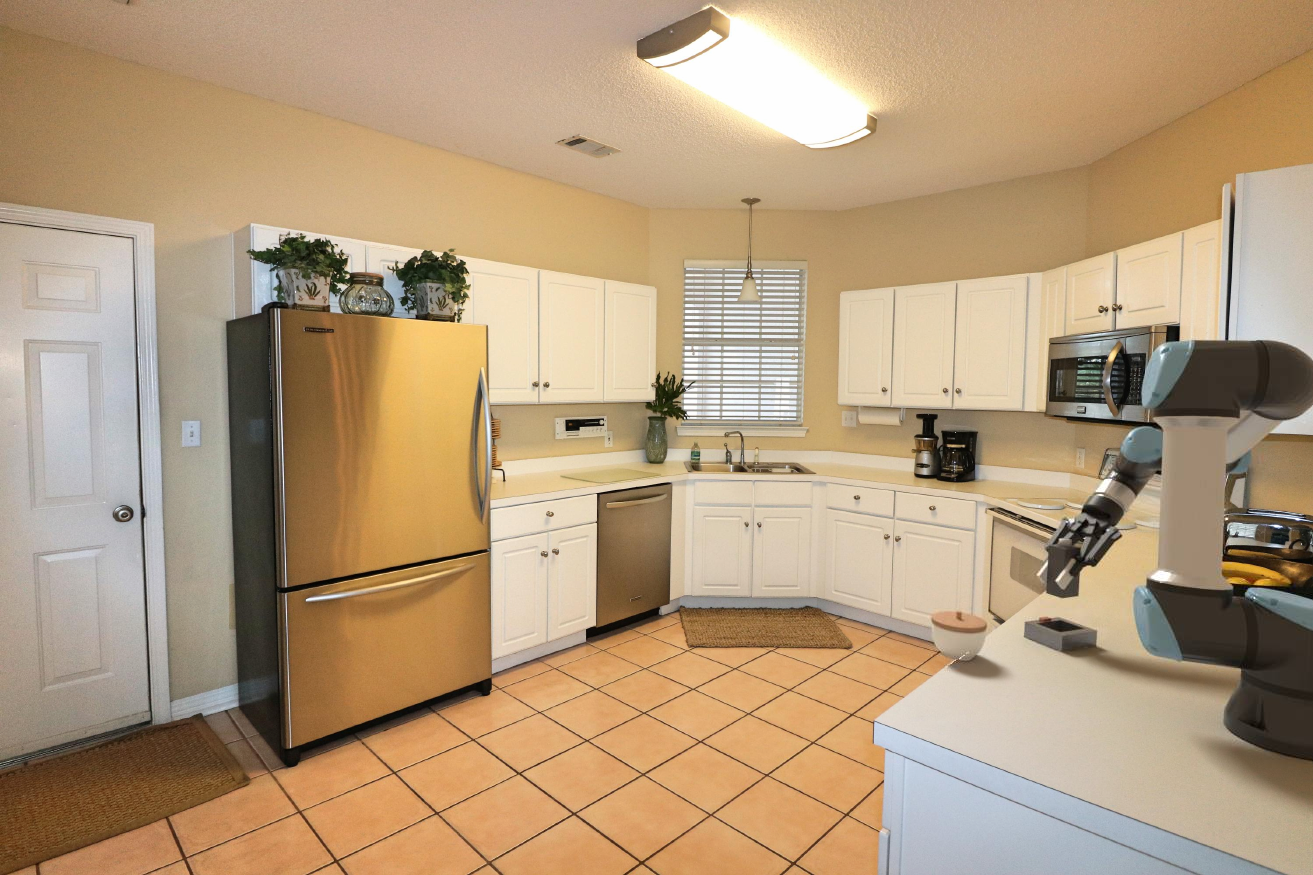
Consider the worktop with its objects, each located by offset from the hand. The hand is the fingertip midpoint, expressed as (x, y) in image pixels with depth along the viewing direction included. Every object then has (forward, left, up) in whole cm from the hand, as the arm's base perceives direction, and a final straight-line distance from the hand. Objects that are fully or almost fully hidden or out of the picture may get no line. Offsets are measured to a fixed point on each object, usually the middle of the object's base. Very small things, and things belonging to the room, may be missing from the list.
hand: (1050, 582), depth 152 cm
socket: (+2, -2, -14) cm, 14 cm away
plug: (+3, -2, -3) cm, 5 cm away
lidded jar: (-18, +17, -14) cm, 28 cm away
